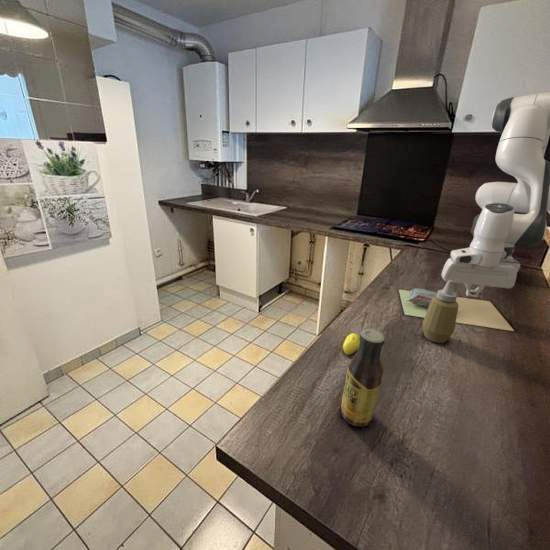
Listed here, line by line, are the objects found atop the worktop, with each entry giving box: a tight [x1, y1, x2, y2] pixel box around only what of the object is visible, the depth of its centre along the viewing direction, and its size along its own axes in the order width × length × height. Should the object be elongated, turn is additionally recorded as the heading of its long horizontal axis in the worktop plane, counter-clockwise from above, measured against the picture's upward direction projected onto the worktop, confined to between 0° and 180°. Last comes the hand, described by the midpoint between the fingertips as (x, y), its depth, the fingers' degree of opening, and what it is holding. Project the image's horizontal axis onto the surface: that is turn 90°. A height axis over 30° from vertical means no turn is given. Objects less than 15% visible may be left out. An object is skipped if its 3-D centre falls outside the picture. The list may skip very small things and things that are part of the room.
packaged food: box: [405, 287, 438, 307], centre depth 101 cm, size 9×12×5 cm
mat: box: [398, 289, 515, 332], centre depth 100 cm, size 20×31×1 cm, turn 74°
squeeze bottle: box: [421, 280, 458, 344], centre depth 80 cm, size 8×8×18 cm
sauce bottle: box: [340, 328, 386, 428], centre depth 54 cm, size 6×6×20 cm
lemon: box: [342, 332, 360, 356], centre depth 77 cm, size 4×8×4 cm, turn 145°
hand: (471, 295), depth 97 cm, fingers closed
